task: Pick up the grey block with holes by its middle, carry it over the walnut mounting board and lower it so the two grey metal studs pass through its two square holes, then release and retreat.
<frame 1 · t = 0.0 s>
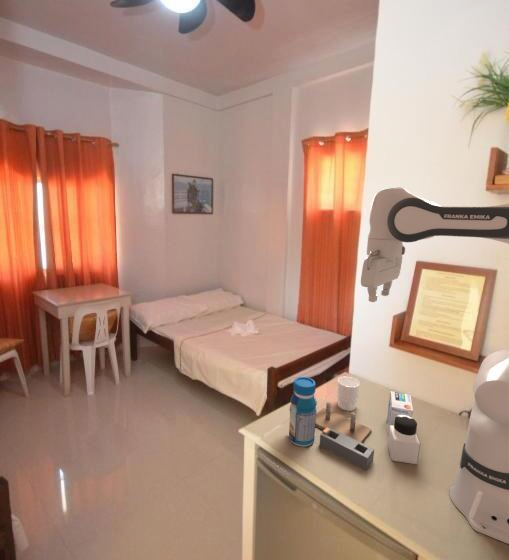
hand: (379, 298, 93), 48 cm above the table, fingers open, 8 cm apart
light bulb box: (397, 429, 112), on the table
board: (339, 427, 112), on the table
white cup: (346, 406, 125), on the table
medicine bottle: (401, 455, 100), on the table
grey block with holes: (345, 453, 100), on the table
beverage bottle: (301, 439, 106), on the table
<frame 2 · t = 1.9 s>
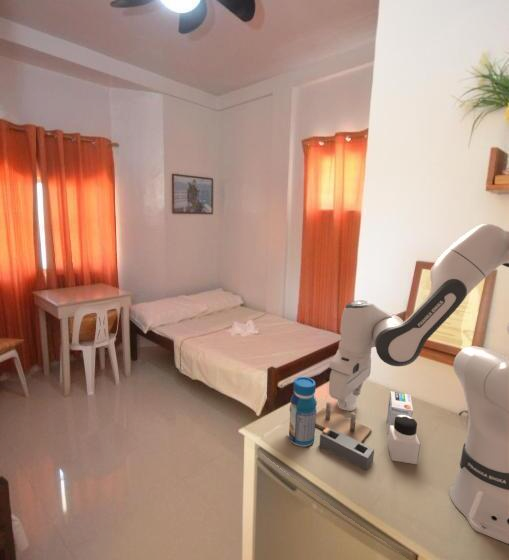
hand: (349, 400, 97), 17 cm above the table, fingers open, 8 cm apart
nothing on the table moved.
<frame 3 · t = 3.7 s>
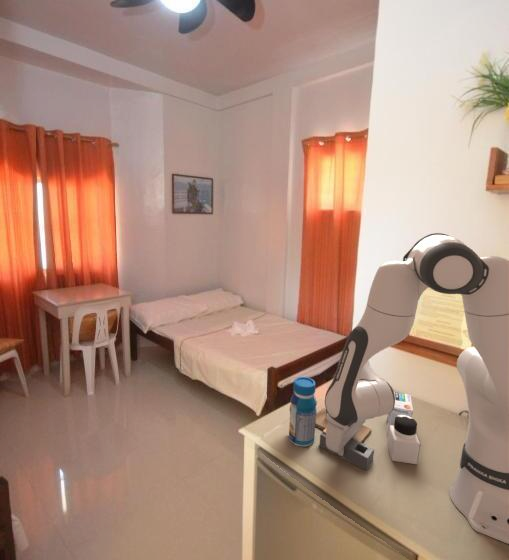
hand: (345, 448, 100), 2 cm above the table, fingers closed on grey block with holes, 5 cm apart
grey block with holes: (345, 453, 100), on the table, touching gripper
everything else where it was.
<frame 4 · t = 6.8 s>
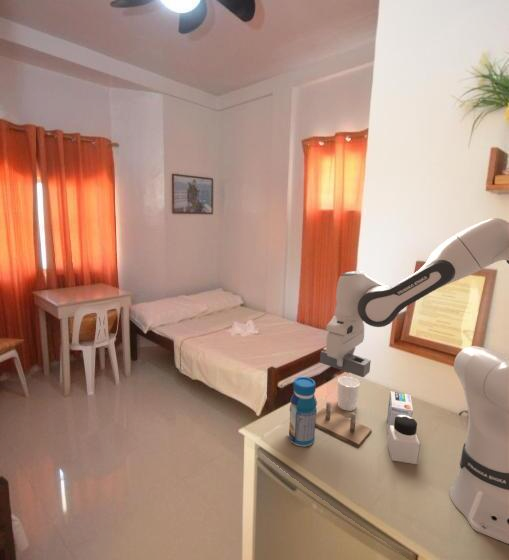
hand: (344, 362, 107), 24 cm above the table, fingers closed on grey block with holes, 5 cm apart
grey block with holes: (344, 367, 108), point 22 cm above the table, touching gripper
everything else where it was.
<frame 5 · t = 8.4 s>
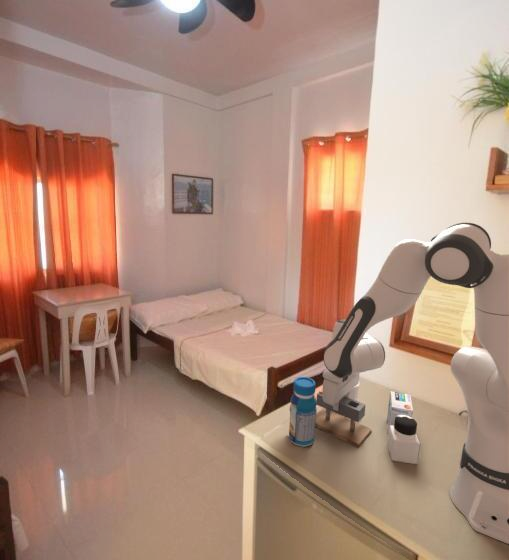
hand: (340, 405, 110), 9 cm above the table, fingers closed on grey block with holes, 5 cm apart
grey block with holes: (339, 410, 110), point 7 cm above the table, touching gripper
everything else where it was.
when the fingers open (4 cm above the table, at t = 9.8 s): grey block with holes stays where it is, resting on board.
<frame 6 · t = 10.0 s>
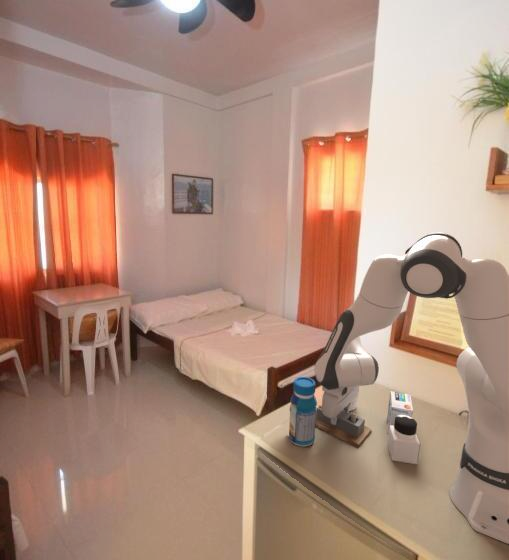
hand: (340, 417, 111), 4 cm above the table, fingers open, 7 cm apart
grey block with holes: (339, 424, 112), point 1 cm above the table, touching board
everything else where it was.
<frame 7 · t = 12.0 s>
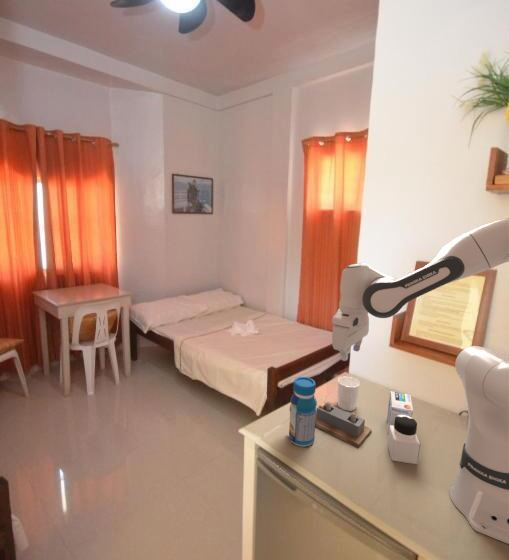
hand: (350, 355, 107), 26 cm above the table, fingers open, 8 cm apart
nothing on the table moved.
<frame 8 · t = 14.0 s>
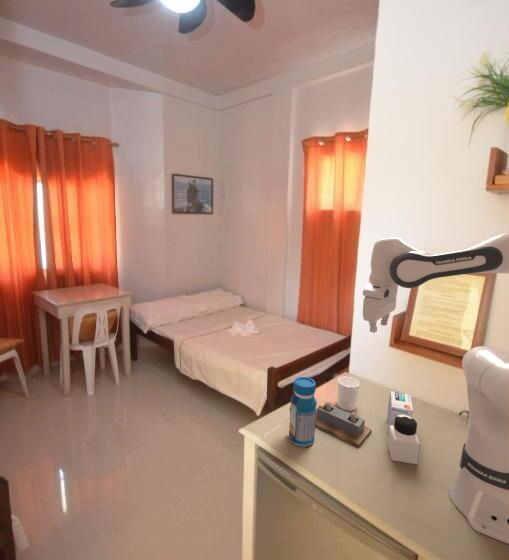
hand: (378, 328, 110), 34 cm above the table, fingers open, 8 cm apart
nothing on the table moved.
at the end: grey block with holes 0.1 cm off-centre on the board, point 1.2 cm above the board's base; grey block with holes tilted 0°; the gripper is holding nothing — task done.
